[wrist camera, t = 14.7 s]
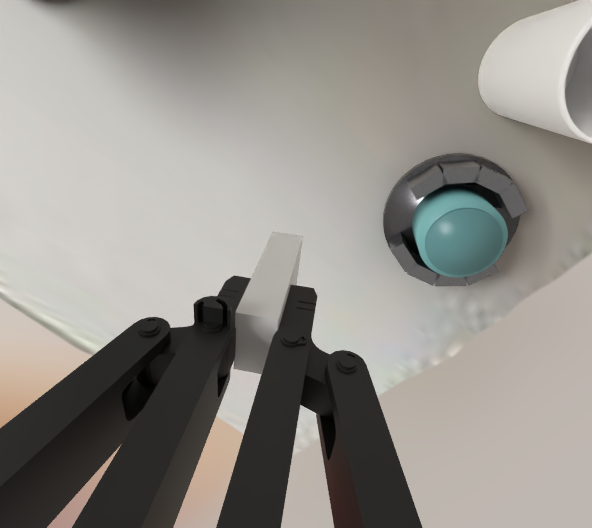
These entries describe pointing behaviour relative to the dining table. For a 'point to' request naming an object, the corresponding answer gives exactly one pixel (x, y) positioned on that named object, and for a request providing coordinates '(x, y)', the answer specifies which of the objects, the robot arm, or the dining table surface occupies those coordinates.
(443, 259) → the cap
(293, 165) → the dining table surface
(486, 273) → the dark grey round bowl
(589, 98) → the cup
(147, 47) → the dining table surface
